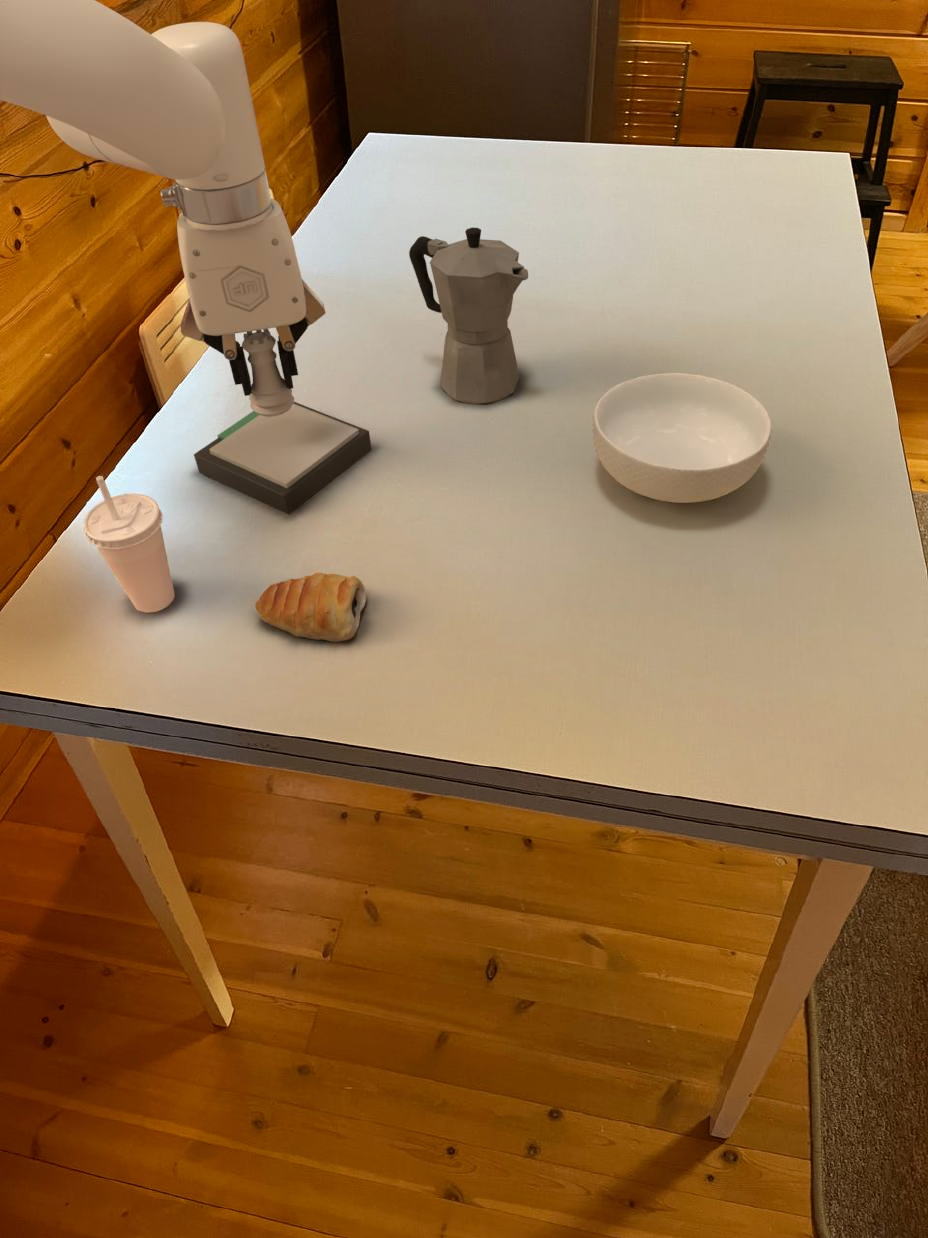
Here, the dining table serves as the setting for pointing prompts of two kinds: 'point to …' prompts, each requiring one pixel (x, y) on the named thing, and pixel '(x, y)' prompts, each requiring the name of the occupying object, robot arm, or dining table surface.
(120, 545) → the smoothie
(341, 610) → the pastry
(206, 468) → the scale
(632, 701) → the dining table surface
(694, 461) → the cereal bowl
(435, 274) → the coffeepot
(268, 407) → the rook chess piece
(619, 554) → the dining table surface
